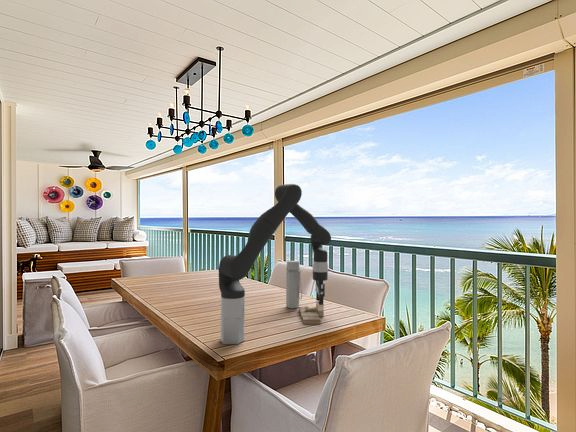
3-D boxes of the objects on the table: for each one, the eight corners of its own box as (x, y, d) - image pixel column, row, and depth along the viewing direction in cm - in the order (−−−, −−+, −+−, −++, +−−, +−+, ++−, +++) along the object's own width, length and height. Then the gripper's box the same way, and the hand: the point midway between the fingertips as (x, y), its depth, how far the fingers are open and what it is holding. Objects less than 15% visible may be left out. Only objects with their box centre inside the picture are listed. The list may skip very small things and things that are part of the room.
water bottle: (283, 307, 176) (283, 261, 177) (290, 304, 183) (290, 260, 184) (298, 310, 172) (298, 262, 172) (304, 306, 179) (305, 261, 179)
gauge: (323, 316, 162) (323, 304, 162) (305, 316, 161) (305, 304, 161) (322, 313, 167) (322, 301, 167) (304, 313, 166) (304, 301, 166)
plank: (320, 324, 149) (320, 319, 149) (303, 324, 149) (303, 319, 149) (314, 310, 171) (314, 306, 171) (298, 310, 171) (299, 306, 171)
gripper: (330, 272, 158) (329, 306, 157) (325, 268, 172) (324, 299, 171) (314, 272, 157) (314, 306, 157) (311, 268, 171) (310, 299, 171)
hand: (319, 302), depth 164 cm, fingers open, 8 cm apart
